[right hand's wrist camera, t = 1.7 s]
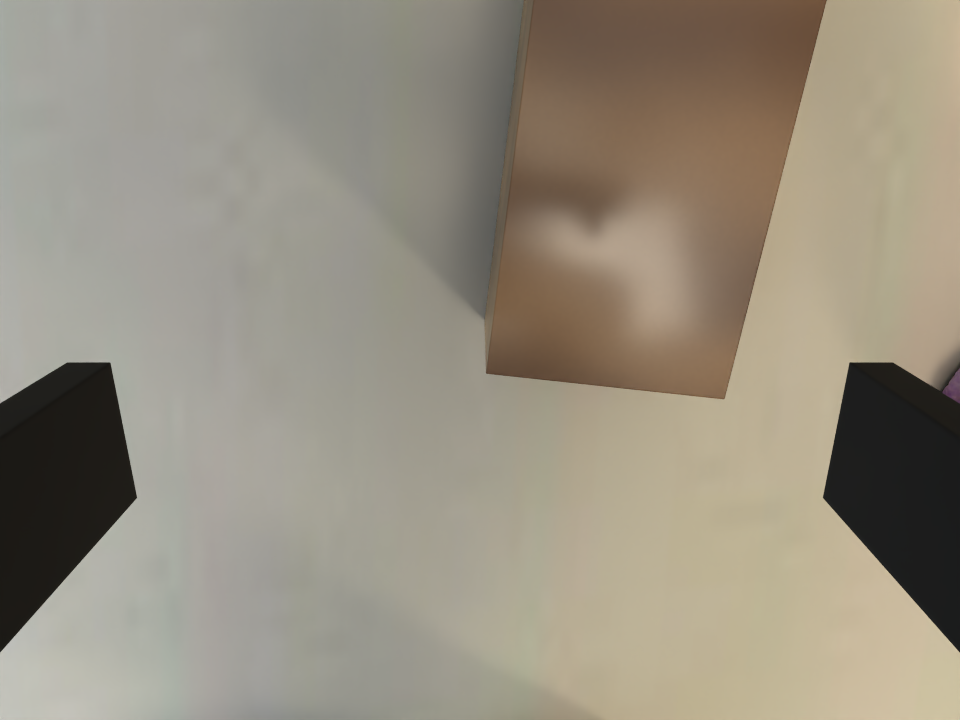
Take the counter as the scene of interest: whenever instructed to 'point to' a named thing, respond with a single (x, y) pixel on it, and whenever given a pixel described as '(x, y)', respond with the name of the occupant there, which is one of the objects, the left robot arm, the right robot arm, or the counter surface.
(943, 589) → the right robot arm
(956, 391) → the figurine
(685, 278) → the slab
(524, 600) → the counter surface
